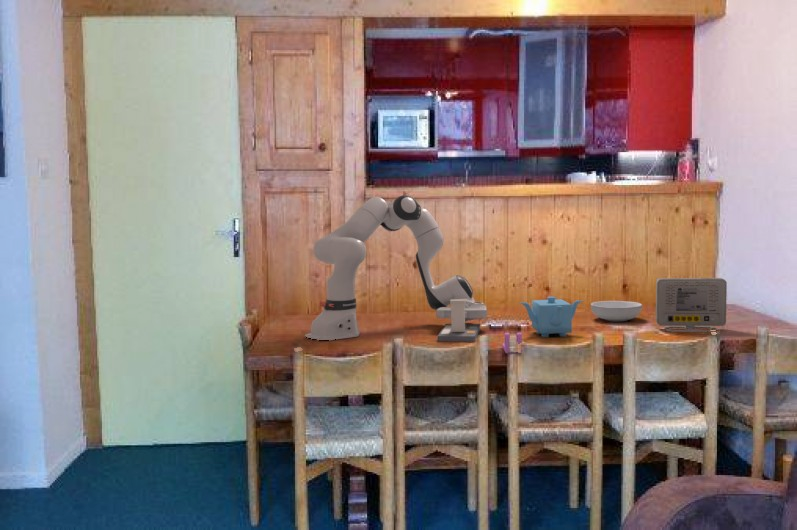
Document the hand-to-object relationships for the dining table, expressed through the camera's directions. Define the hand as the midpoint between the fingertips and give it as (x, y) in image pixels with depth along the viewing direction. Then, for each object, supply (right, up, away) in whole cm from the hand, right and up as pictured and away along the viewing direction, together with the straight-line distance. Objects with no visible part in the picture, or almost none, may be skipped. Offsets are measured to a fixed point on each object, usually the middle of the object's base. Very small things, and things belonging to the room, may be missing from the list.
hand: (459, 316), depth 323 cm
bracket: (+16, -10, -29) cm, 35 cm away
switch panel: (0, -7, 0) cm, 7 cm away
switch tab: (-1, -6, -5) cm, 8 cm away
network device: (+90, -5, -1) cm, 90 cm away
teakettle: (+35, -7, -5) cm, 36 cm away
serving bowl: (+68, -3, +25) cm, 72 cm away
